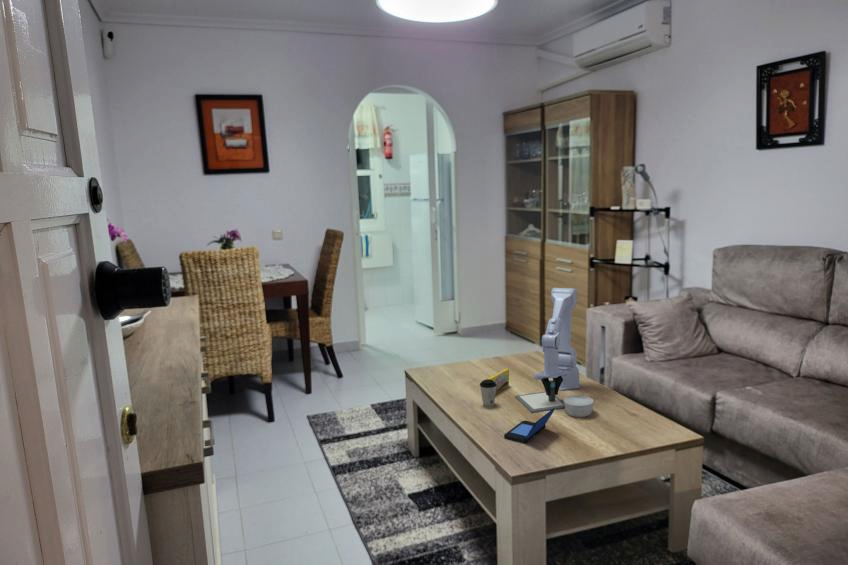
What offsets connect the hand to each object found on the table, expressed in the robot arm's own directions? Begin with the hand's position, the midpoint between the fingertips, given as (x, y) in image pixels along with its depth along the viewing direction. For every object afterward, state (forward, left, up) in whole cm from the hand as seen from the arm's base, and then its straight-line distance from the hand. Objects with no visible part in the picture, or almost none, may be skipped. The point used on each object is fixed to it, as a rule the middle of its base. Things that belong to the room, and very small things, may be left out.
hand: (551, 394), depth 235 cm
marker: (0, 0, -2) cm, 2 cm away
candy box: (+16, -20, -4) cm, 26 cm away
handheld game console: (+20, +25, -4) cm, 33 cm away
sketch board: (+4, -2, -3) cm, 5 cm away
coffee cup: (+25, -7, -3) cm, 26 cm away
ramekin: (-5, +13, -4) cm, 15 cm away
